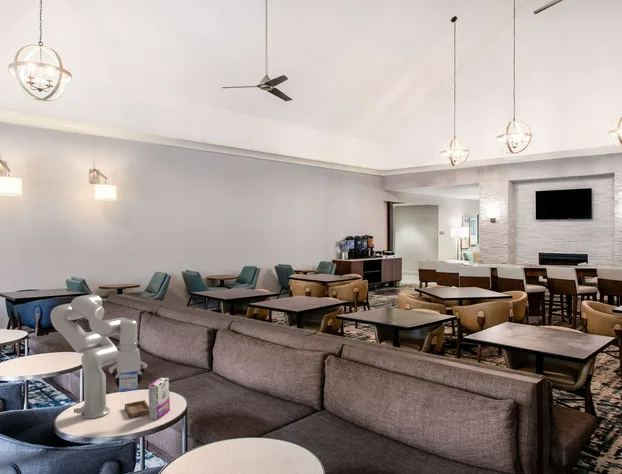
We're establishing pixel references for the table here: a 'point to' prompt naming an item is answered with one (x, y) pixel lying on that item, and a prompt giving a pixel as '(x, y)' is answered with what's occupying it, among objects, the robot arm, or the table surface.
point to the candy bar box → (159, 398)
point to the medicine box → (128, 381)
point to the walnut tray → (137, 409)
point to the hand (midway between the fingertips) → (128, 384)
